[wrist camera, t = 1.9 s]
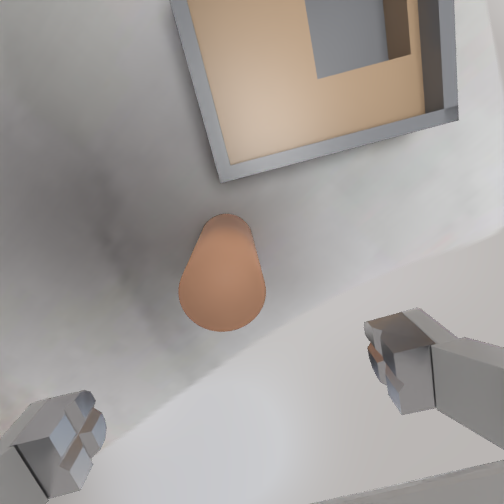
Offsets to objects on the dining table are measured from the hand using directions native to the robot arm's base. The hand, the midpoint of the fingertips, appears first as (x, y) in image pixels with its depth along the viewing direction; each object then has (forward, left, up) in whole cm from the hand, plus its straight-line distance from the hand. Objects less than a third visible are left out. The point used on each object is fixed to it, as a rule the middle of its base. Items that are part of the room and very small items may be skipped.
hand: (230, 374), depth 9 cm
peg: (0, 0, -15) cm, 15 cm away
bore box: (+8, +10, -15) cm, 20 cm away
